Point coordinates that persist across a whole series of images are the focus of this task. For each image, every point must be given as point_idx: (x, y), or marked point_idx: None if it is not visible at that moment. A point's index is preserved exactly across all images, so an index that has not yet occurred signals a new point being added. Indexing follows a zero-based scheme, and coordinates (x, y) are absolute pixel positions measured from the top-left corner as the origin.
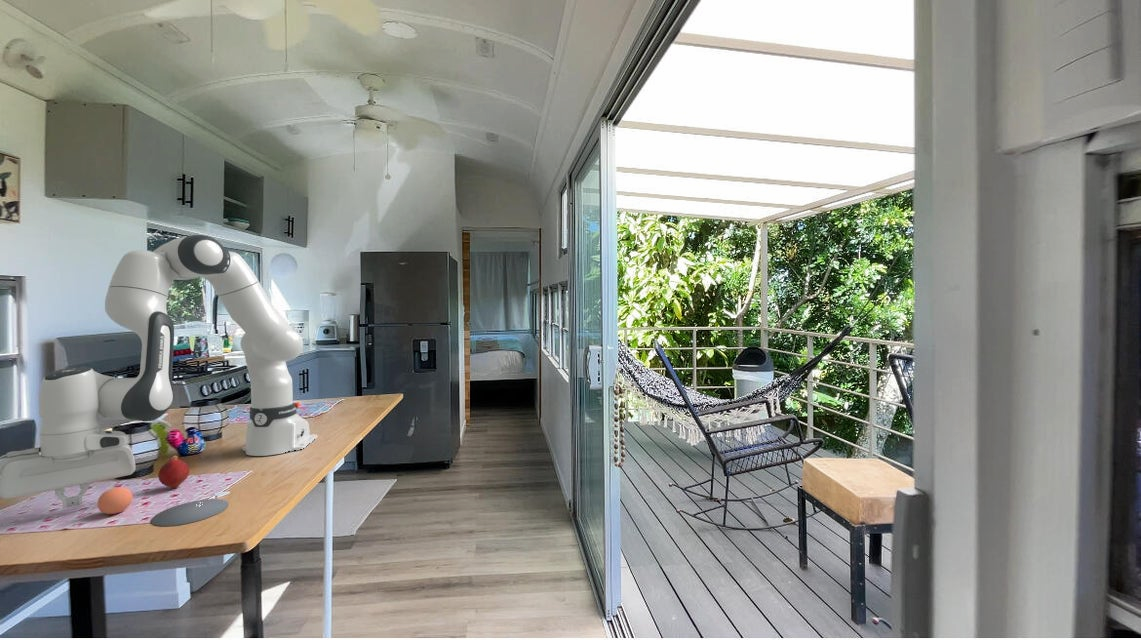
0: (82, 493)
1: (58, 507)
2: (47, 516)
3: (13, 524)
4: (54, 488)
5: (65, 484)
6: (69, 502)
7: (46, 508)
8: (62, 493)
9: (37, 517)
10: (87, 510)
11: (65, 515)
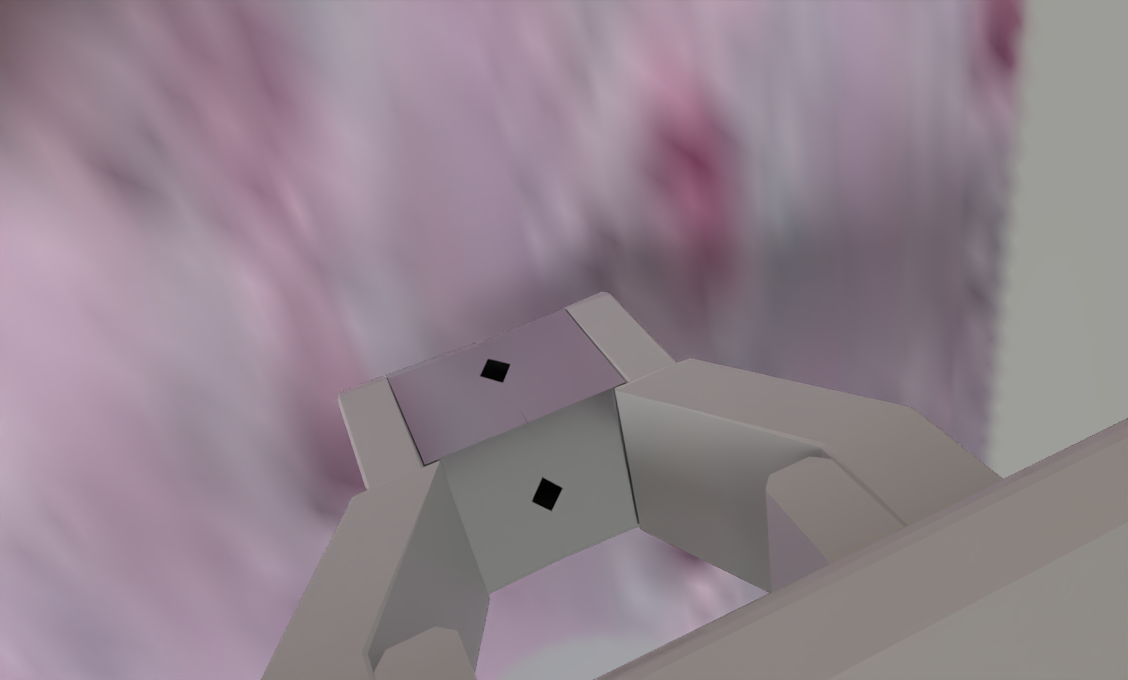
0: (377, 547)
1: (663, 595)
2: (720, 331)
3: (982, 207)
4: (1103, 457)
5: (930, 622)
6: (549, 362)
7: (757, 596)
8: (760, 558)
9: (805, 344)
10: (259, 362)
11: (522, 263)
